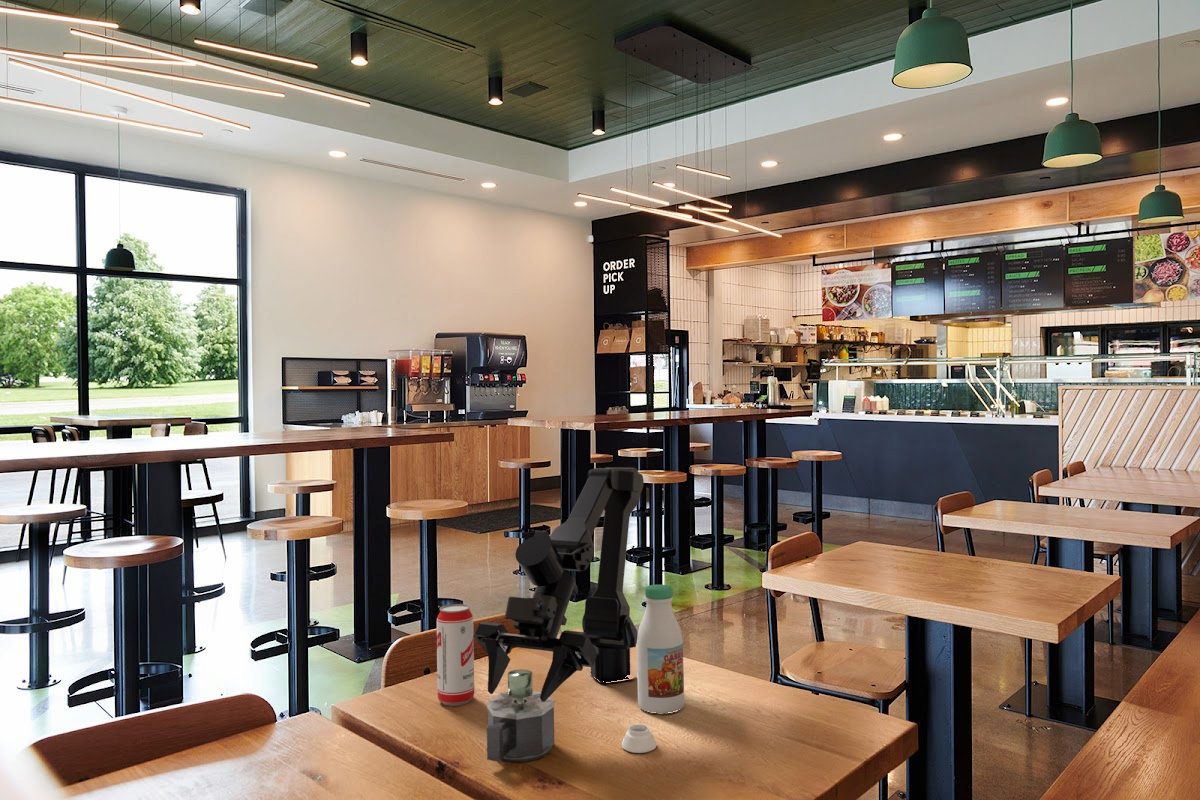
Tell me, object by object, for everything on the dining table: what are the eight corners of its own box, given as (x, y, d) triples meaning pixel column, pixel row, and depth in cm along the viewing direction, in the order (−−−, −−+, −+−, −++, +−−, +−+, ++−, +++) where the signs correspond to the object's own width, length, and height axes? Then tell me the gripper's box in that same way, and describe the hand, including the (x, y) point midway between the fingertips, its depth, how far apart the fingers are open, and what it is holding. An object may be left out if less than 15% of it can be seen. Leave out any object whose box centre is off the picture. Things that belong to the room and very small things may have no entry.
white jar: (653, 756, 114) (658, 742, 119) (653, 735, 114) (657, 722, 119) (619, 754, 115) (625, 740, 120) (618, 733, 115) (624, 720, 120)
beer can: (478, 694, 141) (477, 603, 141) (469, 707, 134) (467, 612, 135) (443, 693, 141) (442, 603, 141) (432, 706, 135) (431, 611, 135)
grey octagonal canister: (510, 733, 123) (509, 687, 123) (563, 741, 120) (562, 694, 120) (465, 765, 112) (464, 715, 112) (522, 776, 108) (521, 724, 108)
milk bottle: (631, 712, 131) (629, 590, 131) (646, 696, 138) (644, 580, 138) (676, 718, 128) (674, 593, 128) (689, 702, 135) (687, 583, 136)
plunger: (516, 733, 120) (515, 668, 120) (537, 737, 118) (536, 670, 118) (504, 743, 116) (503, 675, 116) (525, 746, 115) (524, 678, 115)
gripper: (479, 570, 125) (438, 661, 115) (587, 578, 117) (554, 676, 107) (505, 609, 132) (469, 698, 122) (609, 618, 124) (580, 715, 114)
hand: (515, 696), depth 116 cm, fingers open, 8 cm apart
